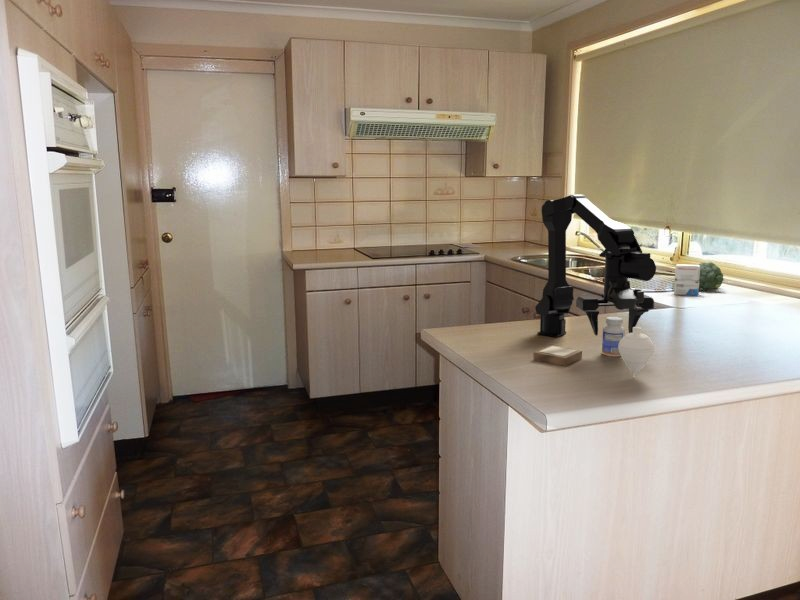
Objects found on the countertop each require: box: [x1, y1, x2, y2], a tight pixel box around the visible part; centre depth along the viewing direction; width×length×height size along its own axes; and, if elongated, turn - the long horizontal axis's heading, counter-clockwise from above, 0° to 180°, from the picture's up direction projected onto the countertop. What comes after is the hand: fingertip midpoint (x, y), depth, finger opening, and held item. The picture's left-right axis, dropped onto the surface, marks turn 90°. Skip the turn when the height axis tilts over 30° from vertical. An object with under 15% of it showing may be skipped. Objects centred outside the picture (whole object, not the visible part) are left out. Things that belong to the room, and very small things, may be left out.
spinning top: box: [618, 326, 655, 379], centre depth 143 cm, size 8×8×12 cm
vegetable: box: [698, 262, 725, 292], centre depth 254 cm, size 12×13×15 cm
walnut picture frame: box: [532, 344, 583, 367], centre depth 160 cm, size 9×9×2 cm
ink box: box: [673, 263, 700, 297], centre depth 245 cm, size 9×5×12 cm, turn 58°
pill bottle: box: [601, 316, 626, 358], centre depth 163 cm, size 5×5×10 cm
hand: (613, 334), depth 163 cm, fingers open, 9 cm apart
